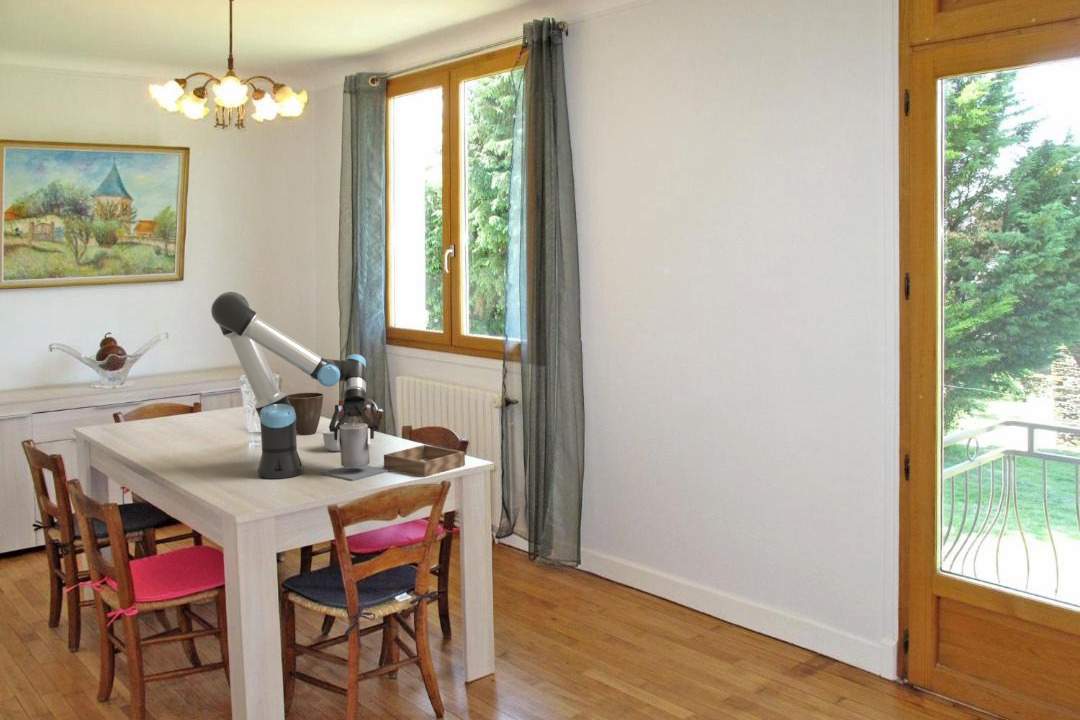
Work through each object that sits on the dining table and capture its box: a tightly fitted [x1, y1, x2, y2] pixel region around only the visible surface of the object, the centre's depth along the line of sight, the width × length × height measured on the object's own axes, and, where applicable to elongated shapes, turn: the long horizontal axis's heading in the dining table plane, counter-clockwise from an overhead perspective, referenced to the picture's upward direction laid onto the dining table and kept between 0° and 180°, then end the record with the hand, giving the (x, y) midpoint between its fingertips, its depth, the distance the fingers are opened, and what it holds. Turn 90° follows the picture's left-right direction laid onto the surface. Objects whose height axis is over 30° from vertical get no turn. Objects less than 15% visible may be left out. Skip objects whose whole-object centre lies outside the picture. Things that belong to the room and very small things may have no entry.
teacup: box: [322, 428, 341, 452], centre depth 381 cm, size 14×11×8 cm
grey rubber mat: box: [321, 465, 389, 482], centre depth 344 cm, size 16×16×1 cm
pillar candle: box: [339, 421, 371, 467], centre depth 342 cm, size 10×10×15 cm
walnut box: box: [383, 444, 466, 478], centre depth 350 cm, size 20×20×5 cm
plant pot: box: [286, 392, 324, 436], centre depth 412 cm, size 15×15×16 cm
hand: (353, 446), depth 339 cm, fingers closed on pillar candle, 10 cm apart
